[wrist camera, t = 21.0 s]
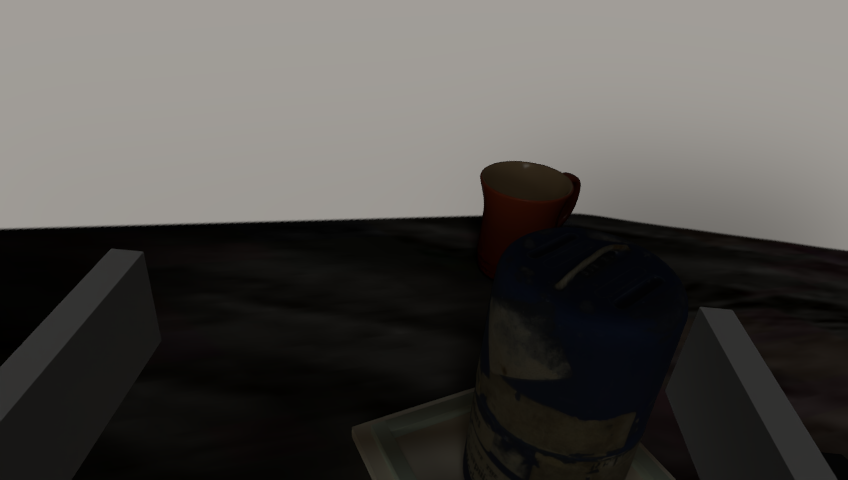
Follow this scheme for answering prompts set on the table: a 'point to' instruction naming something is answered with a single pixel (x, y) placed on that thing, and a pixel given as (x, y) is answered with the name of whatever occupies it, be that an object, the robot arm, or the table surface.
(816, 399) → the table surface
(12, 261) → the table surface
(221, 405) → the table surface
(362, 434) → the square tray
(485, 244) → the mug
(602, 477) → the canister
